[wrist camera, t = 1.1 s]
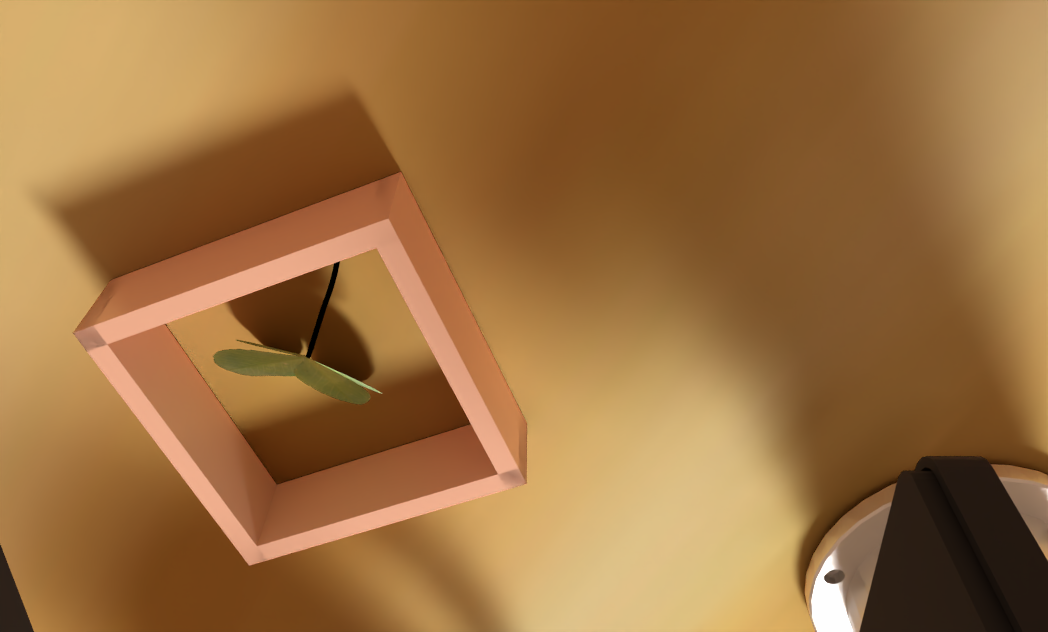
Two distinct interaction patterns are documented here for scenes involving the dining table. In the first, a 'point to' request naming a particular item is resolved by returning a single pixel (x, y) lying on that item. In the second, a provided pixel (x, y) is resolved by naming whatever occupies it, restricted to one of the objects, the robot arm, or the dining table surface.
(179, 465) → the planter frame
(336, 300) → the dining table surface
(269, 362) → the seedling
